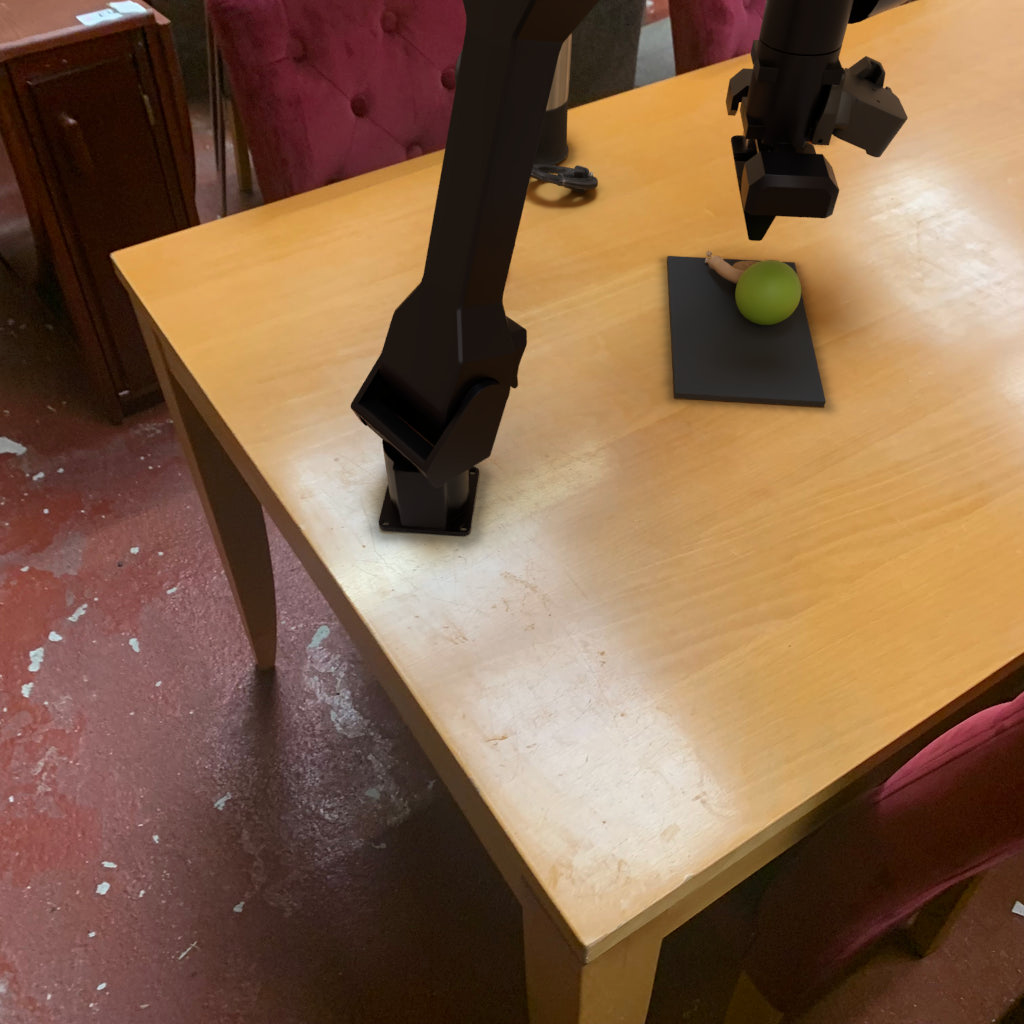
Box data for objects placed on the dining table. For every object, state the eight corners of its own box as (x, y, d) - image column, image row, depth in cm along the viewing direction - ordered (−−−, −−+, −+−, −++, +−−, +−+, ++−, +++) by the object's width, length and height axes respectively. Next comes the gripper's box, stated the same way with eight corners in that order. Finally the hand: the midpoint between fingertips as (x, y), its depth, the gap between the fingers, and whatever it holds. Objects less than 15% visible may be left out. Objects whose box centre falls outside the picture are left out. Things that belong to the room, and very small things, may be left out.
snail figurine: (724, 328, 75) (697, 284, 85) (797, 338, 76) (762, 292, 86) (741, 265, 72) (712, 227, 82) (818, 275, 73) (779, 236, 83)
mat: (824, 407, 72) (826, 401, 71) (673, 398, 72) (675, 392, 72) (793, 267, 85) (794, 262, 84) (666, 261, 85) (667, 255, 85)
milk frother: (514, 125, 104) (515, -15, 93) (636, 159, 99) (652, 15, 88) (446, 177, 96) (438, 30, 85) (575, 217, 91) (585, 66, 80)
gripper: (949, 102, 56) (873, 310, 68) (891, -5, 68) (835, 186, 80) (770, 95, 56) (725, 302, 68) (744, -10, 69) (710, 181, 81)
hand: (754, 238), depth 74 cm, fingers closed
